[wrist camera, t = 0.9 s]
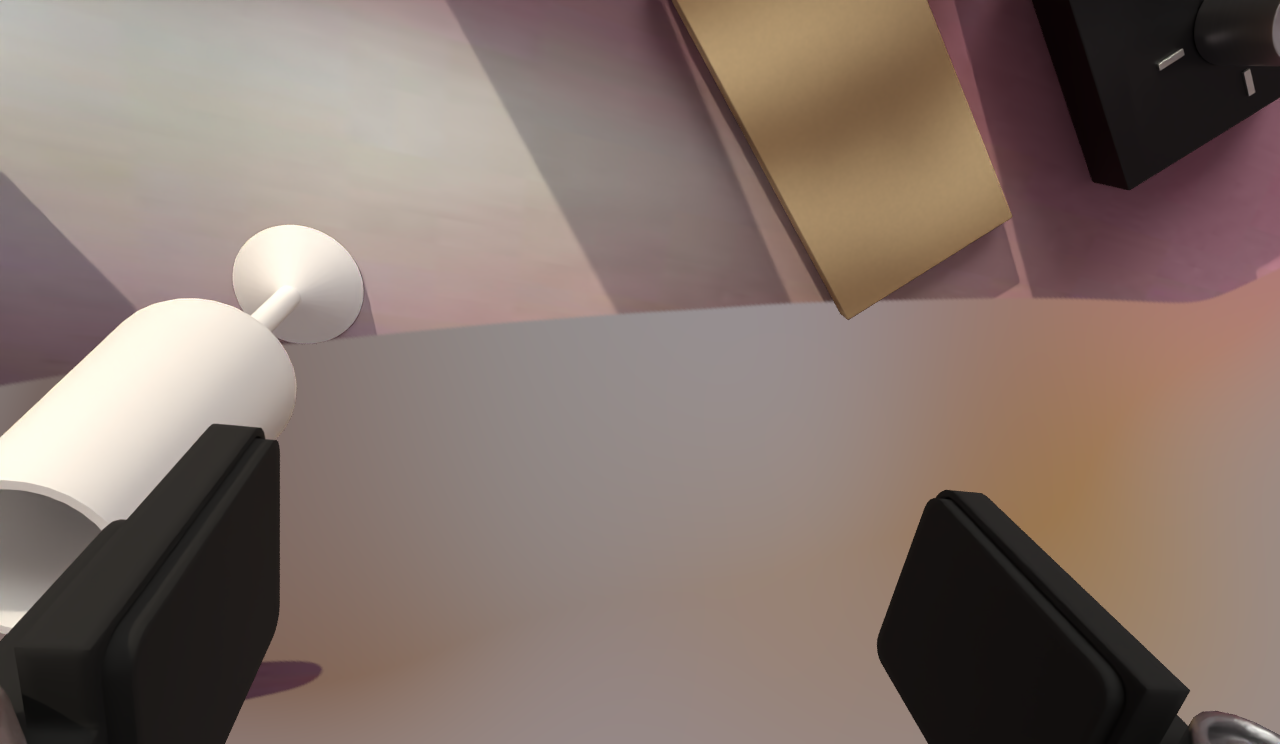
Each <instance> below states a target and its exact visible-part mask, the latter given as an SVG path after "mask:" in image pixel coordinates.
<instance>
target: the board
mask: <svg viewBox="0 0 1280 744" xmlns="http://www.w3.org/2000/svg"><path fill="white" fill-rule="evenodd" d="M671 1H672V2H673V4H674V6H675V8H676V10H677V12H678V14H679V15H680V17H681V19H682V21H683V23H684V25H685V27H686V28H687V30H688V32H689V34H690V36H691V38H692V39H693V41H694V43H695V45H696V47H697V49H698V51H699V52H700V54H701V56H702V58H703V60H704V62H705V64H706V65H707V67H708V69H709V71H710V73H711V75H712V77H713V78H714V80H715V82H716V84H717V86H718V88H719V90H720V91H721V93H722V95H723V97H724V99H725V101H726V103H727V104H728V106H729V108H730V110H731V112H732V114H733V116H734V117H735V119H736V121H737V123H738V125H739V127H740V128H741V130H742V132H743V134H744V136H745V138H746V140H747V141H748V143H749V145H750V147H751V149H752V151H753V153H754V154H755V156H756V158H757V160H758V162H759V164H760V166H761V167H762V169H763V171H764V173H765V175H766V177H767V179H768V180H769V182H770V184H771V186H772V188H773V190H774V192H775V193H776V195H777V197H778V199H779V201H780V203H781V204H782V206H783V208H784V210H785V212H786V214H787V216H788V217H789V219H790V221H791V223H792V225H793V227H794V229H795V230H796V232H797V234H798V236H799V238H800V240H801V242H802V243H803V245H804V247H805V249H806V251H807V253H808V255H809V256H810V258H811V260H812V262H813V264H814V266H815V268H816V269H817V271H818V273H819V275H820V277H821V279H822V281H823V282H824V284H825V286H826V288H827V290H828V292H829V293H830V295H831V297H832V299H833V301H834V303H835V305H836V306H837V308H838V310H839V312H840V314H841V315H843V316H844V317H845V318H846V319H848V320H849V319H851V318H852V317H854V316H856V315H857V314H859V313H860V312H862V311H864V310H865V309H867V308H868V307H870V306H872V305H873V304H875V303H876V302H878V301H880V300H881V299H883V298H884V297H886V296H888V295H889V294H891V293H892V292H894V291H896V290H897V289H899V288H900V287H902V286H904V285H905V284H907V283H908V282H910V281H912V280H913V279H915V278H916V277H918V276H920V275H921V274H923V273H924V272H926V271H928V270H929V269H931V268H932V267H934V266H936V265H937V264H939V263H940V262H942V261H943V260H945V259H947V258H948V257H950V256H951V255H953V254H955V253H956V252H958V251H959V250H961V249H963V248H964V247H966V246H967V245H969V244H971V243H972V242H974V241H975V240H977V239H979V238H980V237H982V236H983V235H985V234H987V233H988V232H990V231H991V230H993V229H995V228H996V227H998V226H999V225H1001V224H1003V223H1004V222H1006V221H1007V220H1009V219H1011V218H1012V214H1011V212H1010V209H1009V207H1008V204H1007V201H1006V199H1005V196H1004V194H1003V191H1002V189H1001V186H1000V184H999V181H998V179H997V176H996V174H995V171H994V169H993V166H992V164H991V161H990V158H989V156H988V153H987V151H986V148H985V146H984V143H983V141H982V138H981V136H980V133H979V131H978V128H977V126H976V123H975V121H974V118H973V115H972V113H971V110H970V108H969V105H968V103H967V100H966V98H965V95H964V93H963V90H962V88H961V85H960V83H959V80H958V78H957V75H956V72H955V70H954V67H953V65H952V62H951V60H950V57H949V55H948V52H947V50H946V47H945V45H944V42H943V40H942V37H941V35H940V32H939V29H938V27H937V24H936V22H935V19H934V17H933V14H932V12H931V9H930V7H929V4H928V2H927V0H671Z"/></svg>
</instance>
